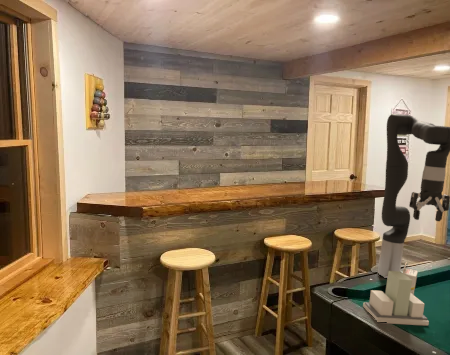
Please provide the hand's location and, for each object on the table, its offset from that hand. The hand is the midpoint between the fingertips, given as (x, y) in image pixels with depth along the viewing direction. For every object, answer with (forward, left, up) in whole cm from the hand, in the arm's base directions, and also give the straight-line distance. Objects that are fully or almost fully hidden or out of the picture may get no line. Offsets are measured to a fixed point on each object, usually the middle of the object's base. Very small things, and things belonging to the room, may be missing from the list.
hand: (426, 220), depth 143 cm
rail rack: (+13, -15, -33) cm, 39 cm away
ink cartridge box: (-1, -3, -33) cm, 33 cm away
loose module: (+13, -15, -31) cm, 37 cm away
